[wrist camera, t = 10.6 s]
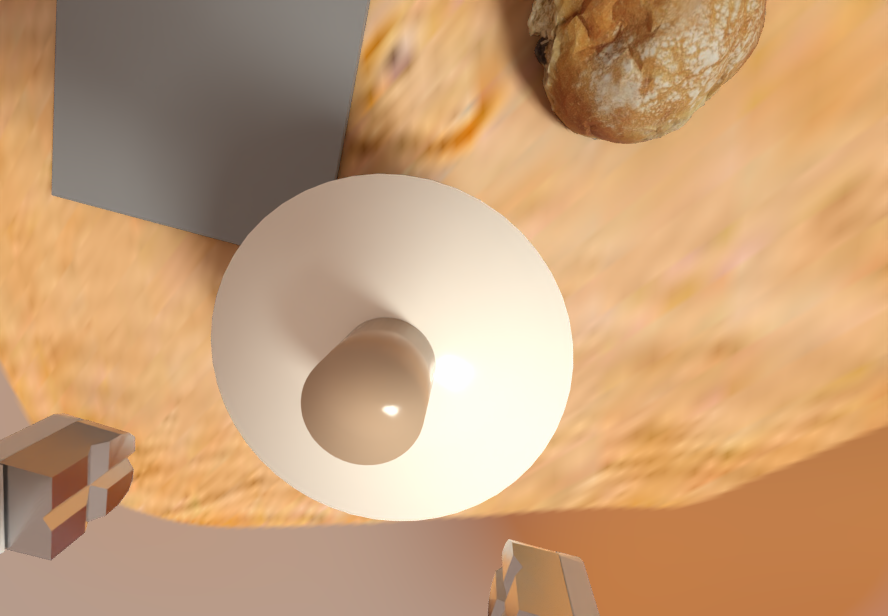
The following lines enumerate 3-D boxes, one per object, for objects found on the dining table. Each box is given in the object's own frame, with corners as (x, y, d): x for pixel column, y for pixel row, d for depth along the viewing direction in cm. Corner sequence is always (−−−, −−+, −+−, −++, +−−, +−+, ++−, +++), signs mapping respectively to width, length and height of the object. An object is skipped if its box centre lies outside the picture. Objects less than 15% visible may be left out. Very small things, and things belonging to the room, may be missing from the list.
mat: (379, -48, 22) (377, -53, 21) (320, 265, 26) (318, 266, 25) (67, -129, 22) (60, -135, 21) (58, 195, 26) (51, 195, 25)
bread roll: (588, 171, 27) (683, 201, 20) (475, 53, 22) (551, 40, 15) (700, 31, 25) (849, 11, 18) (603, -136, 20) (759, -251, 13)
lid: (616, 229, 16) (681, 237, 11) (509, 537, 20) (522, 647, 15) (251, 134, 17) (154, 101, 11) (209, 456, 20) (121, 539, 15)
